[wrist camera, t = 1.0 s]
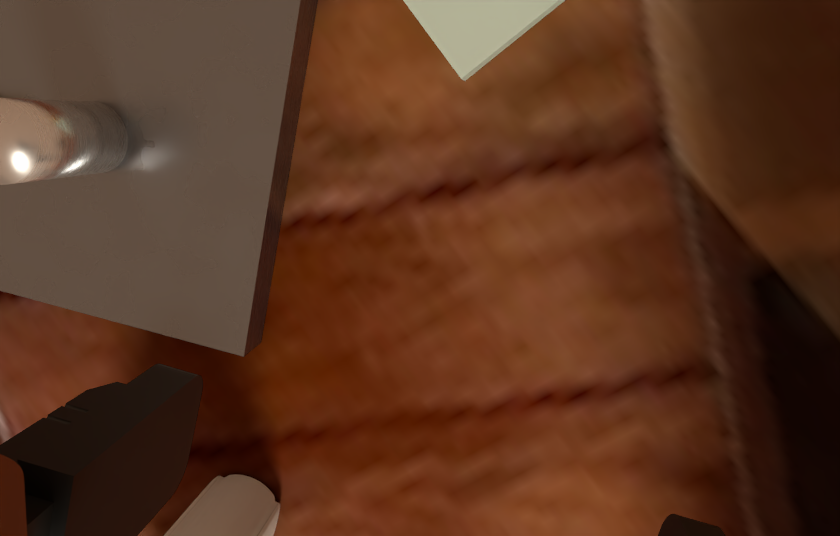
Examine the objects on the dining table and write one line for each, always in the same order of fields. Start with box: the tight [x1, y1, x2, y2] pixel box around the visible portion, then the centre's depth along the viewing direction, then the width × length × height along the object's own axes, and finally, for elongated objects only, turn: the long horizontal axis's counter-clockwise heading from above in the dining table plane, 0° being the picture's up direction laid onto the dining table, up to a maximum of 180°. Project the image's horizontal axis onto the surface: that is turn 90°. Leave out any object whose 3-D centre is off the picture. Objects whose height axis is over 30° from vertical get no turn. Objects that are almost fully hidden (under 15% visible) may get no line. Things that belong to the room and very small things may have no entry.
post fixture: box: [0, 0, 318, 357], centre depth 27 cm, size 16×16×8 cm
